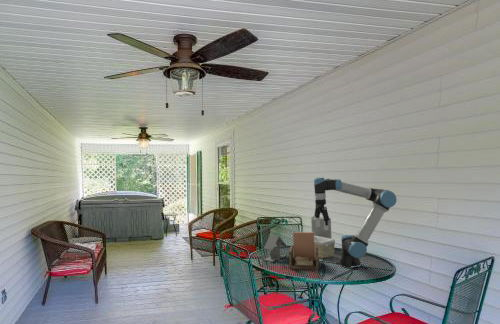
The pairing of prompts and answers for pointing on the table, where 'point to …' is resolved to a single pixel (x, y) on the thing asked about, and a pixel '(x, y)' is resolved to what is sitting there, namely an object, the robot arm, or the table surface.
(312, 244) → the sheet
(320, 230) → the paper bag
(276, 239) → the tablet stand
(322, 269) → the table surface
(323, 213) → the robot arm
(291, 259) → the rack
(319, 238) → the storage basket
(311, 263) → the offcut stack
